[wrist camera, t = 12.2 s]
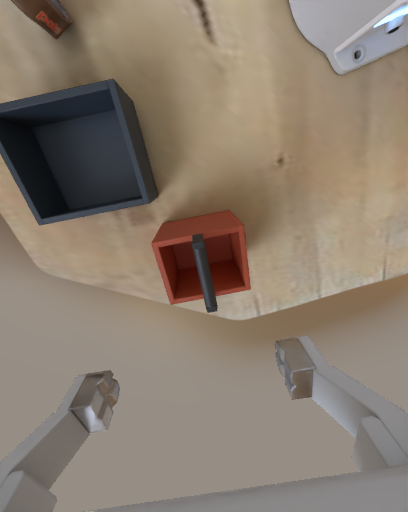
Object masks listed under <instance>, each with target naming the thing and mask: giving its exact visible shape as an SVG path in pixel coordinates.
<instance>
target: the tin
mask: <svg viewBox="0 0 408 512" xmlns="http://www.w3.org/2000/svg"><path fill="white" fill-rule="evenodd" d="M11 1H12V2H13V3H14V4H15V5H16V6H17V7H18V8H19V9H20V10H21V11H22V12H23V13H24V14H25V15H26V16H28V17H29V18H30V19H31V20H33V21H34V22H36V23H37V24H39V25H40V26H41V27H42V28H43V29H45V30H46V31H47V32H48V33H49V34H51V35H52V36H53V38H55V39H58V38H59V37H60V36H61V35H62V33H63V32H64V31H65V29H66V28H67V27H68V25H69V24H72V21H71V18H70V16H69V15H68V13H67V12H66V10H65V9H64V7H63V6H62V5H61V3H60V2H59V0H11Z"/></svg>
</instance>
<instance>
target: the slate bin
mask: <svg viewBox="0 0 408 512" xmlns="http://www.w3.org/2000/svg"><path fill="white" fill-rule="evenodd" d="M0 154H1V156H2V158H3V160H4V161H5V163H6V165H7V167H8V169H9V171H10V172H11V174H12V176H13V178H14V180H15V182H16V184H17V185H18V187H19V189H20V191H21V193H22V195H23V197H24V198H25V200H26V202H27V204H28V206H29V208H30V210H31V211H32V213H33V215H34V217H35V219H36V221H37V222H38V224H39V225H44V224H49V223H54V222H59V221H64V220H69V219H74V218H79V217H84V216H89V215H94V214H99V213H104V212H109V211H114V210H119V209H124V208H128V207H133V206H138V205H143V204H148V203H151V202H152V201H153V200H155V199H156V198H157V197H159V196H158V192H157V188H156V185H155V181H154V177H153V173H152V170H151V166H150V162H149V159H148V155H147V151H146V148H145V144H144V140H143V137H142V133H141V129H140V126H139V122H138V118H137V115H136V111H135V107H134V103H133V101H132V100H131V99H130V97H129V96H128V95H127V94H126V93H125V92H124V90H123V89H122V88H121V87H120V86H119V85H118V83H117V82H116V81H115V80H114V79H109V80H107V81H106V80H105V81H101V82H96V83H92V84H87V85H83V86H78V87H74V88H69V89H65V90H60V91H56V92H51V93H47V94H42V95H37V96H33V97H28V98H24V99H19V100H15V101H10V102H6V103H1V104H0Z"/></svg>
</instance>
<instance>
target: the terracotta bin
mask: <svg viewBox="0 0 408 512" xmlns="http://www.w3.org/2000/svg"><path fill="white" fill-rule="evenodd" d="M151 244H152V248H153V251H154V254H155V257H156V260H157V263H158V267H159V270H160V273H161V276H162V279H163V282H164V286H165V289H166V292H167V295H168V298H169V301H170V304H175V303H176V304H177V303H182V302H187V301H193V300H198V299H203V298H204V301H205V305H206V309H207V312H208V313H209V312H215V311H217V302H216V297H215V296H219V295H225V294H230V293H235V292H240V291H245V290H250V289H251V286H250V277H249V268H248V259H247V250H246V241H245V232H244V225H243V224H242V223H241V222H240V221H239V220H238V218H237V217H236V216H235V215H234V214H233V213H232V212H231V211H230V210H227V211H222V212H217V213H212V214H207V215H202V216H197V217H192V218H187V219H182V220H178V221H173V222H168V223H163V224H162V226H161V227H160V229H159V231H158V232H157V234H156V236H155V238H154V239H153V241H152V243H151Z"/></svg>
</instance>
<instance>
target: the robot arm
mask: <svg viewBox="0 0 408 512" xmlns="http://www.w3.org/2000/svg"><path fill="white" fill-rule="evenodd" d="M289 4H290V8H291V11H292V15H293V17H294V20H295V22H296V24H297V26H298V28H299V30H300V31H301V33H302V34H303V35H304V37H305V38H306V39H307V40H308V41H309V42H310V43H311V44H313V45H314V46H316V47H317V48H318V49H320V50H321V51H323V52H324V53H325V54H326V56H327V58H328V60H329V62H330V64H331V66H332V67H333V69H334V70H335V72H336V73H337V74H339V75H344V74H346V73H349V72H351V71H353V70H355V69H358V68H360V67H362V66H364V65H366V64H369V63H371V62H373V61H375V60H377V59H380V58H382V57H384V56H386V55H388V54H391V53H393V52H395V51H397V50H399V49H402V48H404V47H406V46H408V0H289ZM354 54H356V55H357V58H356V59H355V58H354ZM275 348H276V349H277V352H276V360H277V365H278V367H279V370H280V373H281V375H283V376H284V377H285V385H286V387H287V389H288V392H289V394H290V396H291V399H292V400H293V399H300V398H309V397H312V399H313V400H315V402H316V403H318V404H319V405H320V406H321V407H322V408H323V409H324V410H325V411H326V412H327V413H328V414H330V415H331V416H332V417H333V418H334V419H335V420H336V421H337V422H338V423H339V424H341V426H343V427H344V428H345V429H346V430H347V431H348V432H349V433H350V434H351V435H352V436H353V437H355V438H356V441H355V444H354V449H353V453H352V458H353V460H354V462H355V464H356V466H357V468H358V469H359V471H360V472H354V473H347V474H340V475H333V476H326V477H319V478H312V479H305V480H298V481H291V482H285V483H277V484H271V485H264V486H257V487H250V488H244V489H236V490H230V491H222V492H215V493H209V494H201V495H195V496H188V497H181V498H174V499H167V500H160V501H153V502H146V503H139V504H132V505H126V506H118V507H112V508H105V509H98V510H91V511H84V512H408V414H407V413H406V412H405V411H404V410H403V409H401V408H400V407H398V406H397V405H395V404H393V403H392V402H390V401H388V400H387V399H385V398H384V397H382V396H380V395H379V394H377V393H376V392H374V391H372V390H371V389H369V388H367V387H366V386H364V385H363V384H361V383H360V382H358V381H356V380H355V379H353V378H352V377H350V376H348V375H347V374H345V373H344V372H342V371H340V370H339V369H337V368H335V367H334V366H331V367H330V366H329V365H328V363H327V362H326V360H325V359H324V357H323V356H322V354H321V353H320V352H319V350H318V349H317V347H316V346H315V344H314V343H313V341H312V340H311V338H310V337H309V336H307V335H306V336H300V337H293V338H288V339H283V340H278V341H275ZM112 377H113V373H112V372H111V371H102V372H95V373H88V374H82V375H79V376H77V377H76V379H75V380H74V382H73V384H72V385H71V387H70V389H69V390H68V392H67V394H66V396H65V397H64V399H63V401H62V403H61V404H60V406H59V408H58V410H57V411H56V413H52V414H51V415H50V416H49V417H48V418H47V419H46V420H45V421H44V422H43V423H42V424H41V425H40V426H38V427H37V428H36V429H35V430H34V431H33V432H32V433H31V434H30V435H29V436H28V437H27V438H26V439H25V440H24V441H23V442H21V443H20V444H19V445H18V446H17V447H16V448H15V449H14V450H13V451H12V452H11V453H10V454H9V455H8V456H7V457H6V458H4V459H3V460H2V461H1V462H0V512H52V511H53V509H54V507H55V504H56V502H57V498H56V496H55V495H54V494H52V493H51V492H50V491H49V489H50V488H51V486H52V485H53V483H54V482H55V481H56V479H57V478H58V477H59V475H60V474H61V473H62V471H63V470H64V468H65V467H66V466H67V465H68V463H69V462H70V460H71V459H72V458H73V456H74V455H75V454H76V452H77V451H78V450H79V448H80V447H81V445H82V444H83V443H84V441H85V440H86V439H87V437H88V436H89V435H90V434H89V433H93V432H98V431H103V430H108V427H109V424H110V421H111V418H112V415H113V410H112V407H113V406H114V405H115V404H116V403H117V400H118V397H119V391H120V387H119V384H118V382H117V380H115V379H113V378H112Z"/></svg>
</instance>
